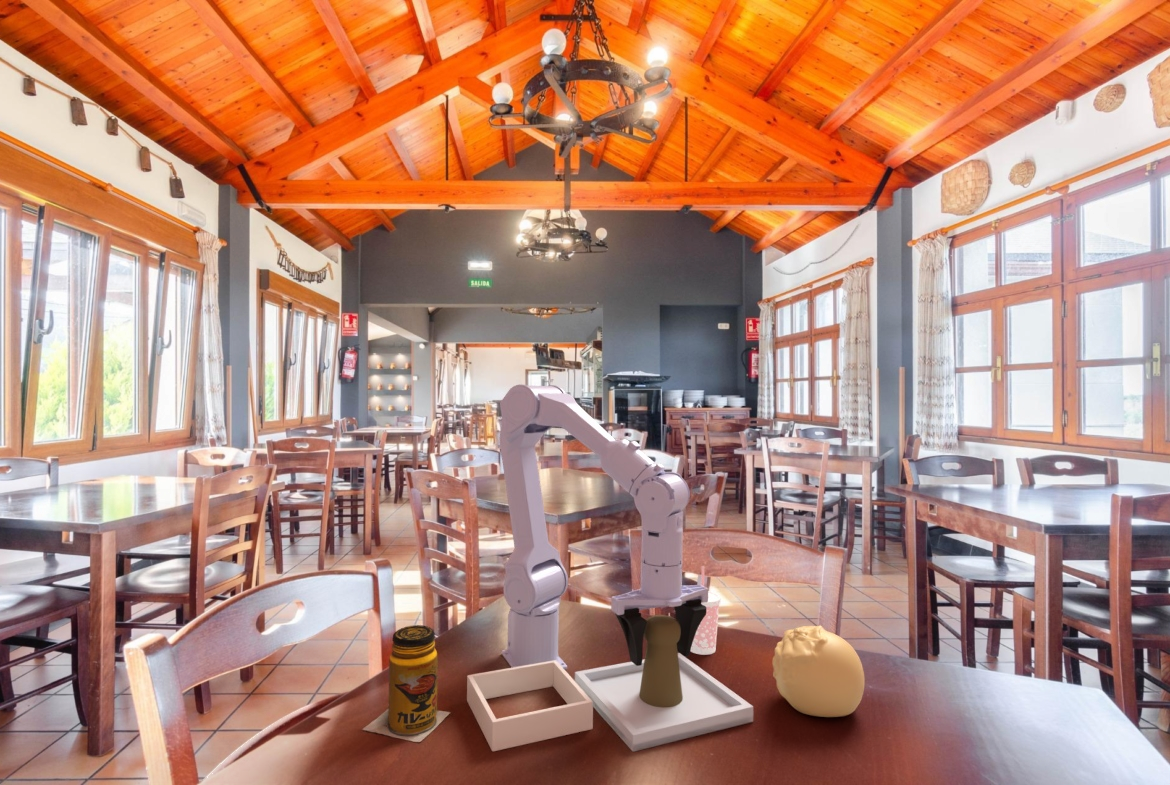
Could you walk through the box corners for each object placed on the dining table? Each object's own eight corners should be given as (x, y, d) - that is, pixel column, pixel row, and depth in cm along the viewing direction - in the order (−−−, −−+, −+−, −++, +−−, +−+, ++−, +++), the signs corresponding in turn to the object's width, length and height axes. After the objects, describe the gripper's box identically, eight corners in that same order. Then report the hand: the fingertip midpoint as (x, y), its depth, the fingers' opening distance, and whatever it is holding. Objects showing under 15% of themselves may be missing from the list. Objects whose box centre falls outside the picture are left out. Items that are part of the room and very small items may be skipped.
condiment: (420, 743, 76) (421, 645, 76) (361, 731, 78) (363, 636, 78) (450, 714, 83) (452, 624, 83) (395, 703, 85) (397, 616, 85)
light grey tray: (574, 685, 91) (574, 672, 91) (679, 665, 99) (679, 652, 99) (632, 751, 75) (633, 735, 75) (753, 721, 82) (753, 706, 82)
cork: (684, 708, 84) (686, 627, 84) (639, 706, 84) (641, 625, 84) (680, 687, 90) (681, 611, 90) (638, 685, 90) (639, 609, 90)
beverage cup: (712, 659, 101) (714, 573, 101) (677, 650, 104) (678, 567, 104) (725, 647, 106) (726, 565, 106) (691, 638, 109) (693, 559, 109)
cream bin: (466, 700, 86) (467, 675, 86) (555, 683, 92) (555, 660, 92) (492, 751, 74) (492, 722, 74) (592, 728, 80) (593, 701, 80)
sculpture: (773, 680, 94) (775, 609, 94) (860, 695, 90) (861, 620, 90) (769, 718, 83) (771, 637, 83) (867, 736, 79) (869, 651, 79)
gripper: (628, 574, 80) (627, 679, 80) (721, 563, 86) (720, 661, 86) (605, 560, 86) (603, 657, 87) (693, 550, 92) (691, 642, 92)
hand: (659, 658), depth 87 cm, fingers open, 7 cm apart
